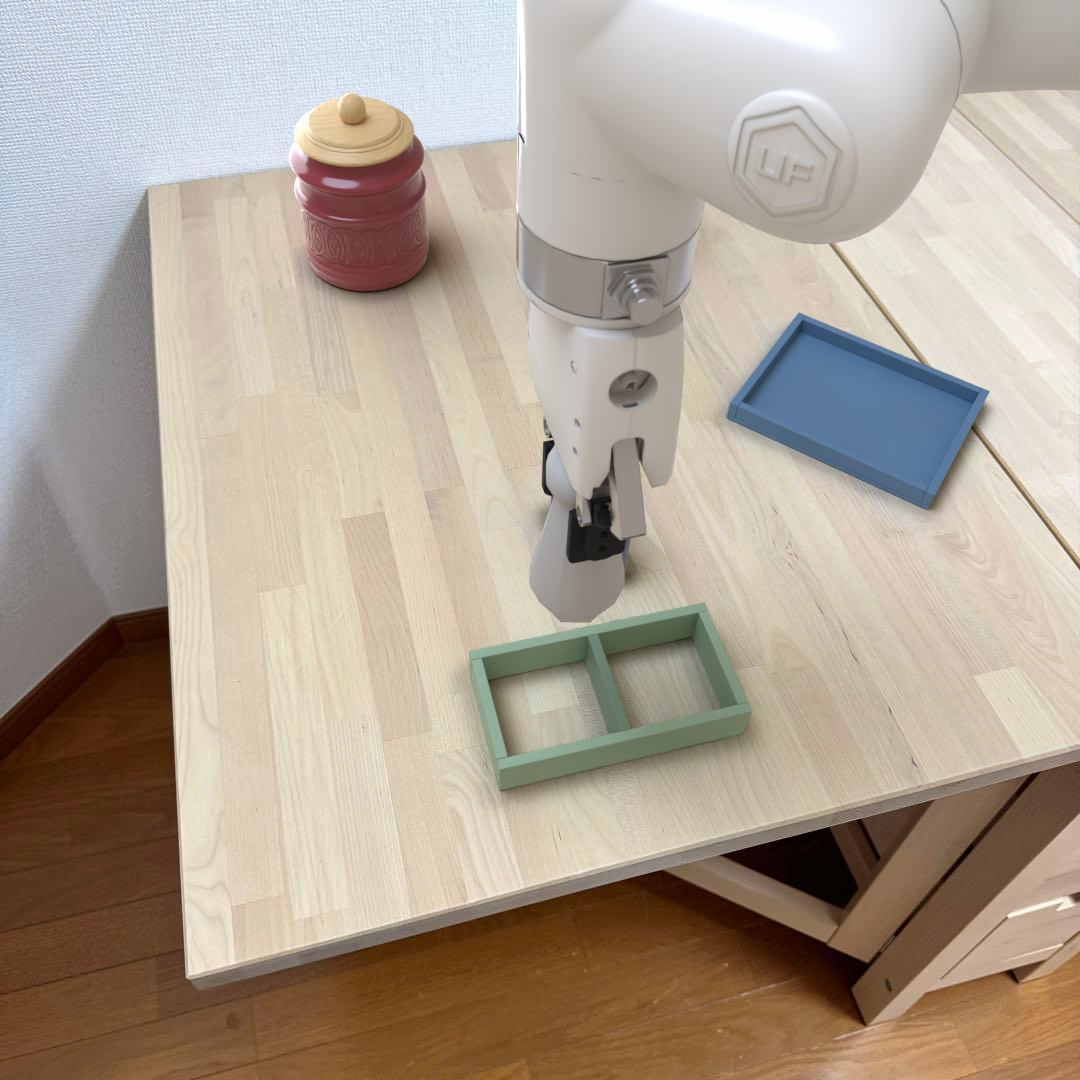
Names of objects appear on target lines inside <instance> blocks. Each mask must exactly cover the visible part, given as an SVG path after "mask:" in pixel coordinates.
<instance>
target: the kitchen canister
mask: <svg viewBox="0 0 1080 1080" xmlns="http://www.w3.org/2000/svg"><path fill="white" fill-rule="evenodd" d="M293 138H294V142H293V144H292V145H291V147H290V150H289V154H288V162H289V166H290V168H291V170H292V171H293V173H294V174H295V176H296V178H295V181H294V187H293V188H294V189H293V190H294V196H295V199H296V201H297V203H298V207H299V213H300V219H301V224H302V230H303V246H304V252H305V255H306V257H307V259H308V261H309V264H310V266H311V268H312V270H313V271H314V273H315V274H316V275H317V276H318V277H319V278H320V279H322V280H323V281H325V282H326V283H328V284H331V285H333V286H335V287H338V288H341V289H344V290H349V291H359V292H373V291H381V290H386V289H387V290H388V289H390V288H393V287H396V286H399V285H402V284H404V283H405V282H407V281H409V280H411V279H412V278H413V277H415V276H416V275H417V274H418V273H419V272H420V271H421V270H422V269H423V267H424V266H425V264H426V262H427V260H428V253H429V249H430V232H429V231H430V230H429V227H428V224H427V206H426V190H427V179H426V176H425V174H424V172H423V170H422V169H421V168H422V166H423V163H424V160H425V149H424V146H423V143H422V142H421V140H420V138H419V137H418V136H417V135H416V134H415V127H414V124H413V121H412V120H411V118H410V117H409V116H408V115H407V114H406V113H405V112H404V111H402V110H400V109H399V108H397V107H395V106H393V105H390V104H389V103H387V102H384V101H382V100H380V99H378V98H374V97H368V96H360V95H358V94H356V93H355V92H354V93H353V92H349V93H345V94H343V95H342V96H341V97H336V98H332V99H329V100H327V101H324V102H322V103H321V104H318V105H317V106H316V107H314V108H313V109H311V110H309V111H308V112H307V113H305V114H304V115H303V116H302V117H301V118H300V119H299V120H298V121H297V123H296V125H295V127H294V131H293Z"/></svg>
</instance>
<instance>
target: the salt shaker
mask: <svg viewBox="0 0 1080 1080" xmlns="http://www.w3.org/2000/svg"><path fill="white" fill-rule="evenodd" d="M546 485H547V487H548V488H549V490H550V491H551V493H552V495H553V496H554V498H553V501H552V503H551V502H550V505H551V506H550V505H549V509H548V512H547V514H546V518H545V519H544V523H543V527H542V529H541V532H540V534H539V537H538V540H537V544H536V546H535V549H534V551H533V555H532V557H531V561H530V562H529V575H528V576H529V577H528V578H529V579H528V582H529V587H530V589H531V591H532V593H533V594H534V595H535V596H534V597H535V598H536V599H537V601H538V603H539V604H540V605H542V606H543V607H544V608H545V609H546V610H548V611H549V612H550V613H551V614H552V615H553V616H554V617H555V618H556V619H557V620H558V621H559V622H560V623H578V624H579V623H583V624H589V623H590V624H591V623H592V622H593V621H594V620H595V619H596V618H597V617H598V616H600V615H601V614H602V613H604V612H605V611H607V610H608V609H610V608H611V607H613V606H614V605H615V604H616V602H617V600H618V599H619V596H620V595H621V593H622V591H623V590H624V587H625V585H626V579H625V578H626V577H625V576H626V575H625V574H624V565H623V559H622V553H620V554H617V555H613V556H611V557H610V558H607V559H604V560H599V561H591V560H588V561H583V562H579V563H570V562H569V561H568V558H567V555H566V546H567V532H568V517H569V511H570V510H572V509H574V508H576V491H575V490H574V488H573V486H572V484H571V482H570V480H569V478H568V475H567V473H566V470H565V468H564V465H563V463H562V460H561V458H560V455H559V453H558V450H557V448H556V445H554V447H553V448H552V450H551V451H550V453H549V455H548V458H547V461H546ZM594 489H595V492H596V494H593V495H592V499H597V498H602V497H607V496H611V494H610V486H609V485H605V486H600V487H596V488H594Z"/></svg>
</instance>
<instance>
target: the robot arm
mask: <svg viewBox="0 0 1080 1080" xmlns="http://www.w3.org/2000/svg"><path fill="white" fill-rule="evenodd" d="M516 3H517V9H516V10H517V11H516V15H517V16H516V19H517V21H516V23H517V24H516V27H517V28H516V29H517V30H516V32H517V33H516V48H517V50H516V210H515V211H516V212H515V213H516V220H515V221H516V224H515V225H516V226H515V227H516V229H515V230H516V231H515V232H516V235H515V239H516V240H515V241H516V242H515V243H516V244H515V245H516V246H515V247H516V248H515V250H516V251H515V253H516V254H515V258H516V259H515V260H516V261H515V263H516V265H515V268H516V270H515V273H516V274H515V275H516V280H517V284H518V286H519V288H520V290H521V292H522V293H523V295H524V296H525V297H526V299H527V301H528V302H529V303H528V319H527V320H528V321H527V330H528V331H527V351H528V352H527V353H528V367H529V372H530V377H531V382H532V385H533V388H534V391H535V394H536V397H537V399H538V402H539V405H540V408H541V410H542V413H543V416H542V425H543V433H544V435H545V437H546V439H547V440H543V441H542V459H541V460H542V463H541V488H542V491H543V493H544V494H545V495H547V496H548V497H551V496H553V495H552V493H551V491H550V490H549V488H548V487H547V485H546V461H547V458H548V455H549V453H550V451H551V450H552V448H553V447H554V445H556V448H557V450H558V453H559V455H560V458H561V460H562V463H563V465H564V468H565V470H566V473H567V475H568V478H569V480H570V482H571V484H572V486H573V488H574V490H575V491H576V508H574V509H572V510H570V511H569V517H568V532H567V546H566V555H567V558H568V561H569V562H570V563H579V562H583V561H588V560H591V561H599V560H604V559H607V558H610V557H611V556H613V555H617V554H620V553H622V552H623V551H624V550H625V544H626V539H630V540H631V539H635V538H640V537H645V536H646V535H647V524H646V523H647V521H646V514H645V504H644V503H645V502H644V495H643V487H642V486H643V484H642V475H641V468H642V470H643V472H644V474H645V476H646V479H647V480H648V483H649V484H650V487H651V489H655V488H658V487H662V486H663V487H664V486H666V485H667V484H668V483H669V482H670V480H671V477H672V475H673V471H674V466H675V461H676V452H677V446H678V439H679V437H678V436H679V429H680V420H681V412H682V411H681V410H682V402H683V401H682V400H683V391H684V390H683V389H684V375H685V374H684V372H685V330H684V329H685V328H684V316H683V312H682V308H681V304H683V302H684V301H685V299H686V297H687V296H688V294H689V292H690V289H691V286H692V285H691V284H692V280H693V272H694V267H695V261H696V254H697V248H698V243H699V237H700V232H701V225H702V221H703V215H704V210H705V205H706V204H709V205H710V206H712V207H714V208H715V209H717V210H719V211H720V212H723V213H724V214H726V215H728V216H730V217H731V218H733V219H735V220H737V221H739V222H741V223H743V224H745V225H747V226H749V227H751V228H753V229H755V230H757V231H760V232H762V233H764V234H767V235H770V236H772V237H775V238H778V239H782V240H786V241H790V242H794V243H798V244H805V245H806V244H807V245H832V244H838V243H842V242H847V241H850V240H851V241H852V240H853V239H857V238H859V237H862V236H863V235H866V234H868V233H870V232H871V231H873V230H874V229H876V228H878V227H879V226H881V225H882V224H884V223H885V222H886V221H887V220H889V218H891V217H892V216H893V215H895V213H896V212H897V211H898V210H900V208H901V207H902V206H903V205H904V203H906V201H907V200H908V198H910V195H911V194H912V193H913V192H914V189H915V188H916V187H917V185H918V184H919V182H920V180H921V178H922V176H923V175H924V173H925V171H926V168H927V165H928V164H929V162H930V160H931V158H932V156H933V153H934V152H935V149H936V147H937V145H938V143H939V141H940V139H941V136H942V134H943V131H944V129H945V127H946V125H947V122H948V121H949V119H950V116H951V114H952V112H953V109H954V107H955V105H956V103H957V101H958V99H959V97H960V95H967V94H986V93H987V94H988V93H1003V92H1004V93H1005V92H1021V91H1023V92H1024V91H1077V92H1079V91H1080V0H517V2H516ZM640 465H641V466H640ZM605 485H609V486H610V494H611V496H607V497H602V498H597V499H592V495H593V494H596V492H595V489H594V488H596V487H600V486H605Z"/></svg>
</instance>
